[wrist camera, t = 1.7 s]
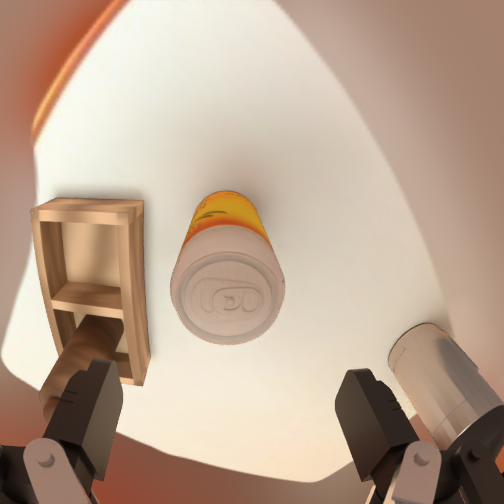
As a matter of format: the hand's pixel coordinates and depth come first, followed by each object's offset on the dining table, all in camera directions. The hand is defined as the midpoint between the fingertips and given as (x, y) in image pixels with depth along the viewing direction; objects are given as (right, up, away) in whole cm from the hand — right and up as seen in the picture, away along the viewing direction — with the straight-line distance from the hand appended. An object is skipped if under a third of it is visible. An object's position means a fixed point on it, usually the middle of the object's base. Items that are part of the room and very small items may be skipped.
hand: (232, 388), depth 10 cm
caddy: (-16, +1, +20) cm, 26 cm away
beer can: (-2, +8, +19) cm, 21 cm away
